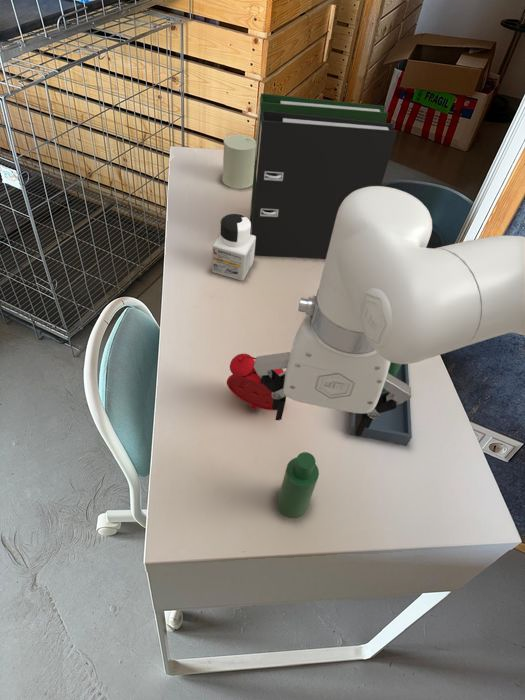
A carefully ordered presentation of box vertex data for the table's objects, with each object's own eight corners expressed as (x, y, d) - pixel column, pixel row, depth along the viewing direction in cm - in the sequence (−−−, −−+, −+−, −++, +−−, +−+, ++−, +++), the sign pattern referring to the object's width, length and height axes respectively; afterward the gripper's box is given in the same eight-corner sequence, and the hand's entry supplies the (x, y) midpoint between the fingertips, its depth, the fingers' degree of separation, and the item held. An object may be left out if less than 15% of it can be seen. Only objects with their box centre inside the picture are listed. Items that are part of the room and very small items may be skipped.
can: (259, 184, 140) (263, 143, 131) (233, 191, 136) (236, 150, 127) (241, 170, 145) (244, 130, 136) (215, 177, 141) (217, 136, 132)
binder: (350, 229, 129) (384, 104, 105) (359, 264, 119) (398, 134, 95) (249, 222, 126) (260, 93, 103) (249, 257, 116) (262, 122, 93)
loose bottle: (305, 520, 73) (321, 479, 63) (275, 514, 74) (287, 472, 64) (308, 493, 77) (324, 449, 67) (279, 487, 77) (291, 442, 67)
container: (211, 272, 111) (212, 224, 102) (223, 254, 116) (225, 206, 107) (242, 281, 110) (246, 233, 100) (253, 262, 115) (258, 215, 106)
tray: (406, 445, 84) (412, 437, 82) (349, 434, 85) (353, 425, 83) (400, 315, 107) (404, 305, 105) (355, 306, 108) (358, 297, 106)
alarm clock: (287, 404, 88) (299, 349, 77) (274, 430, 84) (285, 376, 73) (236, 383, 90) (241, 327, 79) (221, 407, 86) (224, 352, 75)
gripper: (256, 328, 44) (242, 430, 56) (445, 365, 43) (389, 460, 56) (269, 277, 49) (254, 381, 61) (439, 309, 48) (388, 407, 61)
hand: (318, 418), depth 58 cm, fingers open, 9 cm apart
